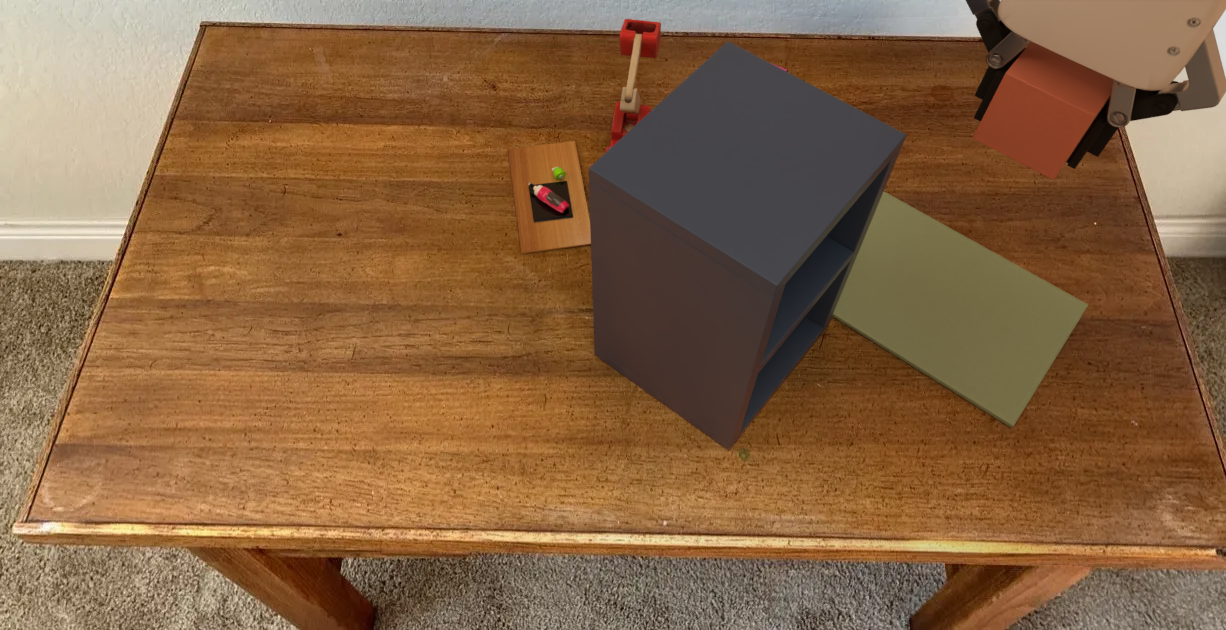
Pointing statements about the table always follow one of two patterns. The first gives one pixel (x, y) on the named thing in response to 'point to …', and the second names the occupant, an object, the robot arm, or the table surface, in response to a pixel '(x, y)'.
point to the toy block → (1043, 109)
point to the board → (549, 197)
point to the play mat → (955, 309)
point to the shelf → (730, 235)
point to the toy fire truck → (634, 74)
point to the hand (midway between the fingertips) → (1033, 128)
